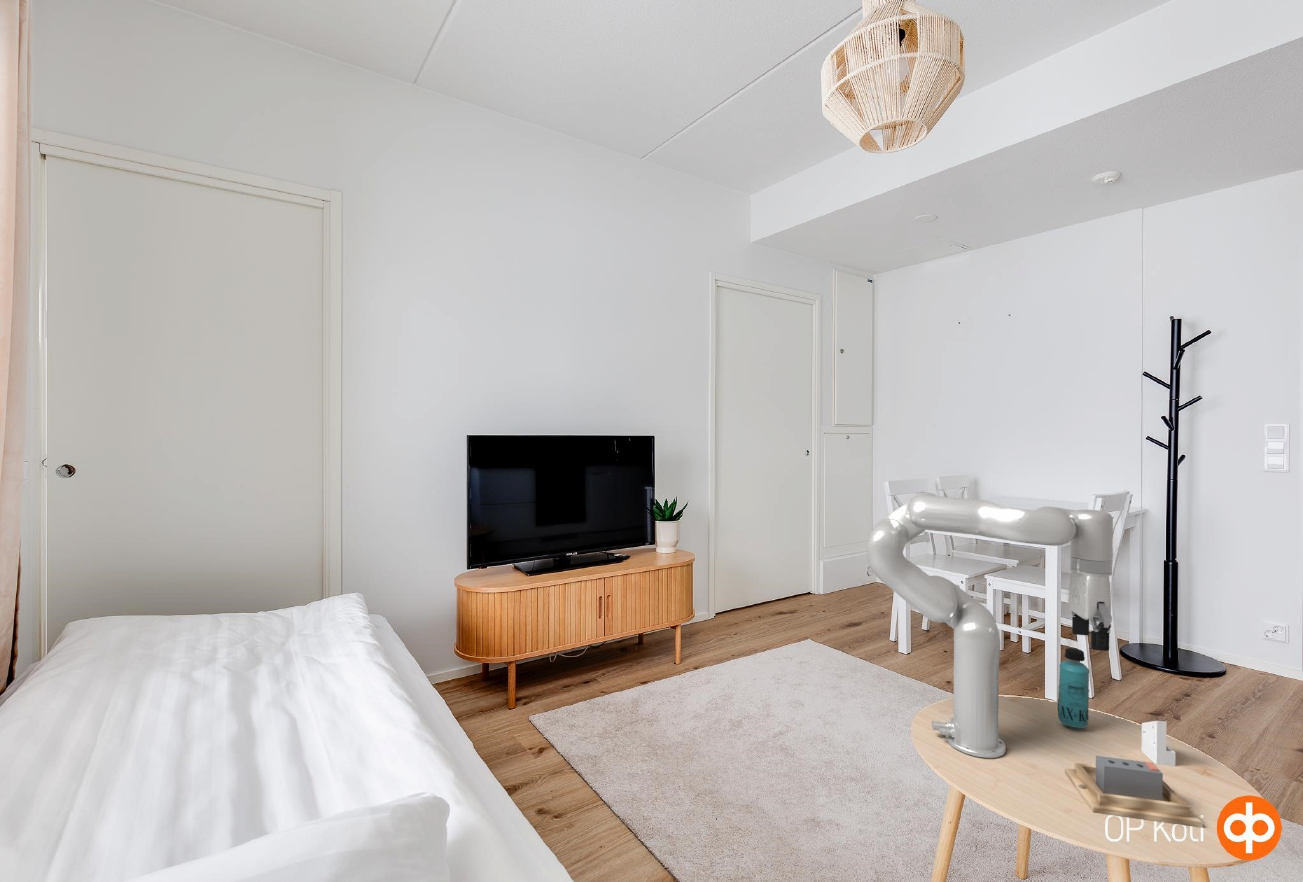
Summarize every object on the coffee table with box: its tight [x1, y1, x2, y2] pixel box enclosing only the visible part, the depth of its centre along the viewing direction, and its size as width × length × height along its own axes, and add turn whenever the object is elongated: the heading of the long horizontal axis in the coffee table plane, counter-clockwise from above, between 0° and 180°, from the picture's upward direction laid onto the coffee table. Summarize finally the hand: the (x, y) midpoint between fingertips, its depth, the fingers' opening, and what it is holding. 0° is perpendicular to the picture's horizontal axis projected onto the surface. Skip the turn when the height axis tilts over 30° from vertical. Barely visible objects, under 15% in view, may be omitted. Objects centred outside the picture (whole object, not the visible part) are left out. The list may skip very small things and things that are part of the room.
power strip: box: [1095, 755, 1164, 801], centre depth 124 cm, size 10×4×6 cm, turn 74°
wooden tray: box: [1064, 762, 1203, 828], centre depth 124 cm, size 18×14×3 cm
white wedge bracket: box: [1141, 720, 1176, 767], centre depth 138 cm, size 4×10×9 cm, turn 168°
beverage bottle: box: [1057, 647, 1090, 729], centre depth 152 cm, size 6×7×20 cm
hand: (1089, 641), depth 135 cm, fingers open, 9 cm apart
